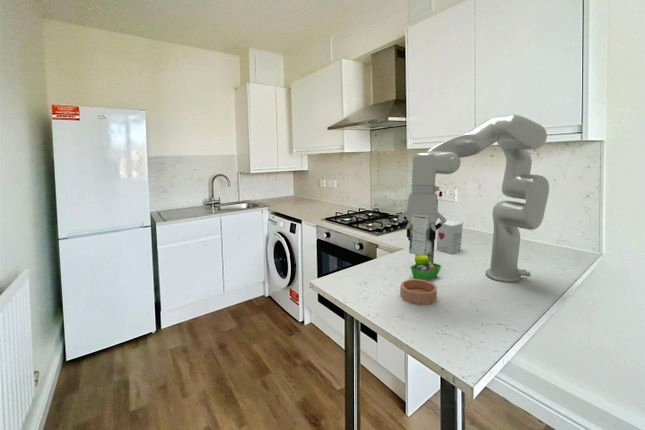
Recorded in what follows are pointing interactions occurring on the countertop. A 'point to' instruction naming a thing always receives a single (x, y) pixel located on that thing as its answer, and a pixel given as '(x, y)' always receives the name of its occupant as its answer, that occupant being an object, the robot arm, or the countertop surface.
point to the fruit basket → (424, 268)
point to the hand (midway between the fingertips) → (420, 239)
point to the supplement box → (449, 237)
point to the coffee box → (431, 254)
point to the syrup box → (420, 235)
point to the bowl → (418, 291)
